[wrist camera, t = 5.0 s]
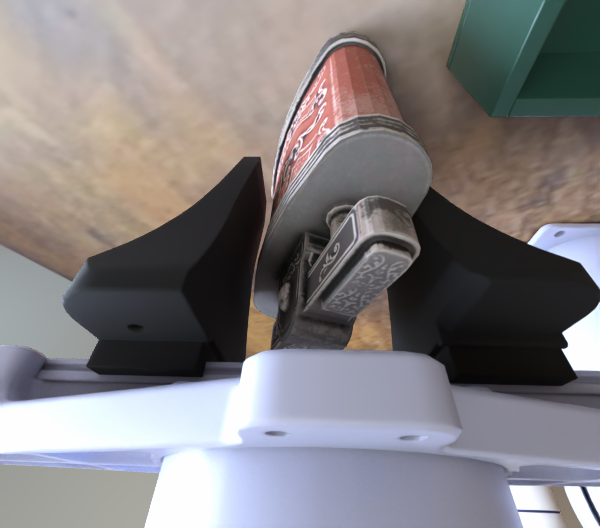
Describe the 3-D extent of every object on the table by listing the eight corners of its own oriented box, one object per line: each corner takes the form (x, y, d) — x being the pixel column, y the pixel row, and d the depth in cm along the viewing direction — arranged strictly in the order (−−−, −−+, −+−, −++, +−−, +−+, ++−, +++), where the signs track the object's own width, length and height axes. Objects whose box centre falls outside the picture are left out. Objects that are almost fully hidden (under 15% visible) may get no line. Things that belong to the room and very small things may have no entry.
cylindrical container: (522, 411, 48) (628, 661, 32) (520, 420, 52) (610, 642, 36) (474, 414, 50) (549, 647, 34) (476, 423, 55) (542, 631, 39)
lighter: (317, 210, 17) (318, 393, 10) (260, 191, 16) (222, 377, 9) (404, 55, 11) (528, 254, 5) (322, 12, 10) (331, 183, 4)
